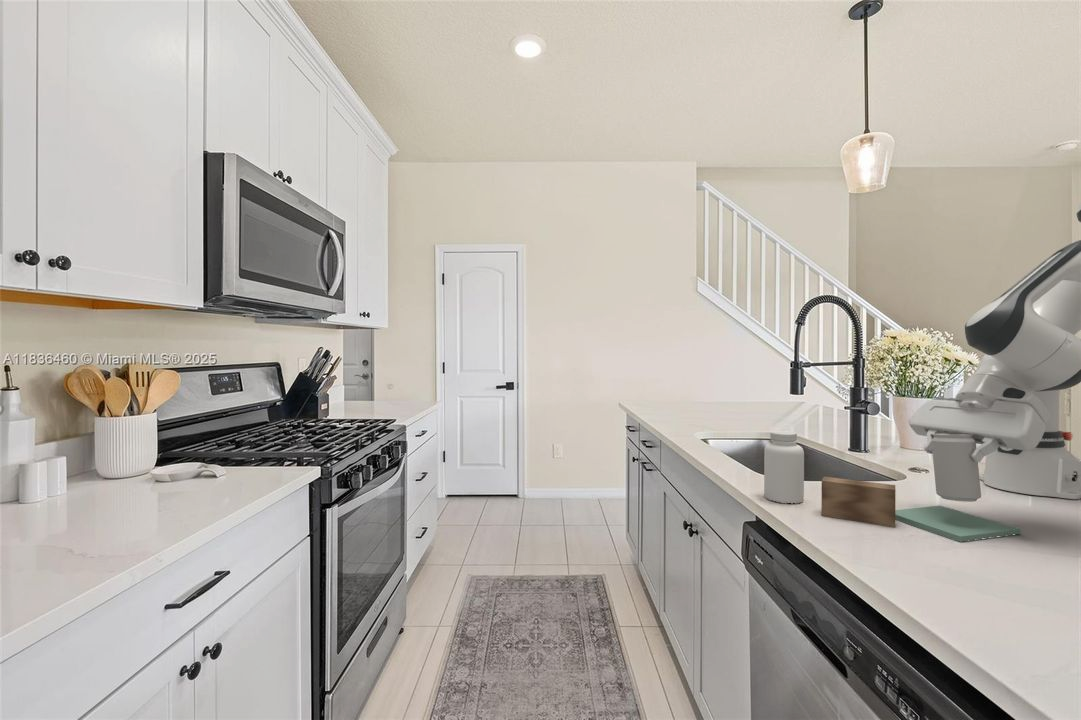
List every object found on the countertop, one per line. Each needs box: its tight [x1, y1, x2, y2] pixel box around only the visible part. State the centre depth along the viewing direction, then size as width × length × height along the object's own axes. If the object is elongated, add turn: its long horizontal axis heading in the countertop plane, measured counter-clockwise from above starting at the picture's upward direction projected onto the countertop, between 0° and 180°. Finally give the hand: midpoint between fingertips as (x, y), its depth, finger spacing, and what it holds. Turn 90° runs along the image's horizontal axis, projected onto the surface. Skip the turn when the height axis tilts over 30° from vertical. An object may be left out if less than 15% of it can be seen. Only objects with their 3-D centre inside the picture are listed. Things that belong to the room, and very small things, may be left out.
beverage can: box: [931, 434, 982, 503], centre depth 91 cm, size 6×6×12 cm
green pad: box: [895, 505, 1022, 543], centre depth 93 cm, size 14×14×1 cm
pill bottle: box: [763, 430, 805, 505], centre depth 109 cm, size 8×8×15 cm
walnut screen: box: [821, 476, 896, 528], centre depth 96 cm, size 12×4×7 cm, turn 55°
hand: (950, 455), depth 92 cm, fingers closed on beverage can, 6 cm apart
